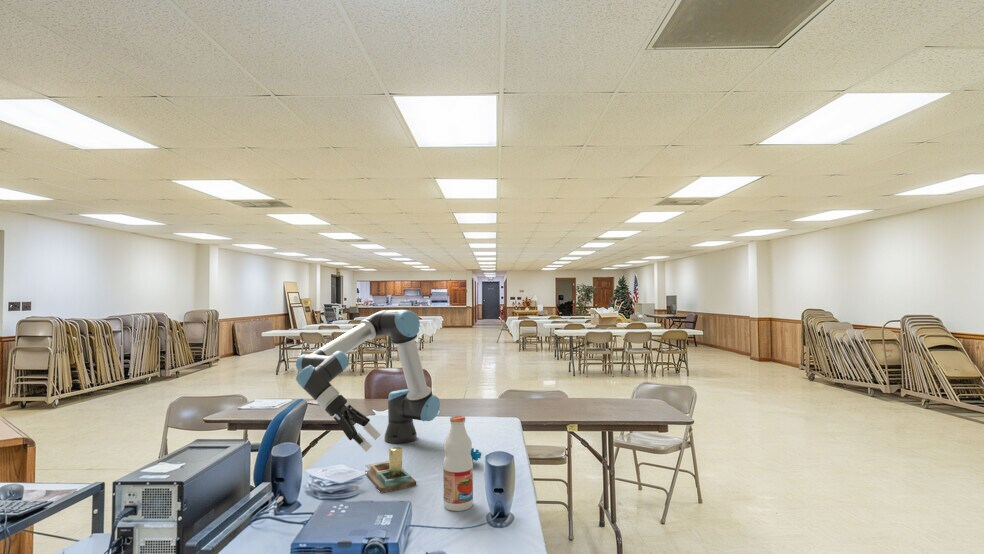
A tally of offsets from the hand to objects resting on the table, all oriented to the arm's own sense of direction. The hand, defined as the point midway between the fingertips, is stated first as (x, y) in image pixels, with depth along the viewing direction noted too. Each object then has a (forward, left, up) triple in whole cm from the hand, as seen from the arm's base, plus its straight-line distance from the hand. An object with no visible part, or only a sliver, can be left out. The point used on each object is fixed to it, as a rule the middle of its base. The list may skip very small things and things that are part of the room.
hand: (374, 442), depth 171 cm
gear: (-38, -2, -15) cm, 41 cm away
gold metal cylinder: (-7, +4, -13) cm, 15 cm away
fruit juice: (-18, +31, -15) cm, 39 cm away
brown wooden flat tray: (-6, -2, -15) cm, 16 cm away
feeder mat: (-7, -17, -15) cm, 23 cm away
